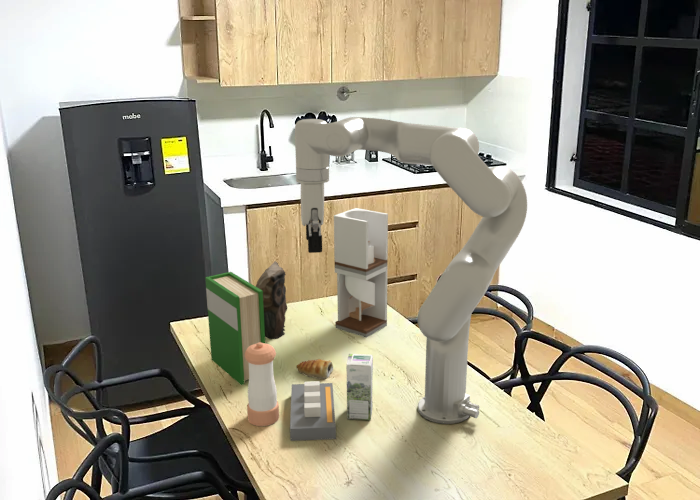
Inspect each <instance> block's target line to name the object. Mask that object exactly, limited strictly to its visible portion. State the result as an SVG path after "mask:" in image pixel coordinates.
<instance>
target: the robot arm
mask: <svg viewBox="0 0 700 500" xmlns="http://www.w3.org/2000/svg"><path fill="white" fill-rule="evenodd" d="M294 138H295V139H294V141H295V142H294V146H295V147H294V148H295V150H294V151H295V176H296V178H295V181H296V182H297V183H299V184H300V221H301V225H302V226H303V227H305V239H306V240H307V250H308V251H307V252H308V253H310V254H313V253H322V252H323V234H322V227H321V226H322V225H324V220H325V219H324V216H325V184H326V183H328V182H329V181H330V158H329V157H330V156H332V157H339V158H340V157H346V156H348V155H350V154H352V153H354V152H356V151H359V150H361V151H373V152H381V153H385V154H386V153H387V154H389V155H391V156H394V158H396V159H397V160H398V161H399V162H400V163H402V164H408V165H409V164H411V165H420V166H421V165H422V166H430V167H433V168H434V170H435V171H436V172H437V174H438V175H439V176H440V177H441V179H442V180H443V181H444V182H445V183H446V184H447V185H448V186H449V188H451V189H452V191H453V192H454V193H455V194H456V195H457V196H458V198H460V199H461V200H462V201H463V203H464V204H465V205H466V206H467V207H468V209H470V210H471V211H472V212H473V213H475V214H477V215H478V216H480V217H482V218H481V219H480V221H479V223H478V224H477V226H476V227H475V229H474V230H473V233H472V234H471V235H470V237H469V238H468V240H467V242H466V243H465V244H464V245H463V247H462V248H461V250H460V251H459V252H458V253H457V254H456V255H455V256H454V257H453V258H452V260H451V261H450V262H449V264H448V265H447V266H446V268H445V270H444V271H443V273H442V274H441V276H439V277H440V278H438V280H437V282H436V283H435V285H434V287H433V288H432V289H431V291H430V293H429V294H428V296H427V297H426V299H425V300H424V302H423V303H422V304H421V305H420V308H419V310H418V314H417V324H418V327H419V330H420V332H421V334H422V335H423V336H424V337H425V338H426V342H425V343H426V344H425V345H426V347H425V376H424V383H425V384H424V396H422V398H420V400H419V401H418V402H417V412H419V414H420V415H421V416H422V417H423V418H424V419H426V420H428V421H430V422H434V423H437V424H444V425H446V424H447V425H448V424H449V425H451V424H459V423H461V422H464V421H466V420H467V419H469V418H470V417H471V418H473V419H477V418H478V417H479V416H480V410H479V409H480V405H478V404H476V403H472V402H471V401H470V400H471V399H470V396H471V395H470V394H468V393H467V373H468V356H469V355H468V352H469V339H470V337H469V336H470V328H471V327H470V326H471V320H472V319H471V318H472V313H473V312H474V311H475V309H476V307H477V306H478V304H479V303H480V302H481V300H482V299H483V298H484V296H485V294H486V293H487V291H488V289H489V287H490V285H491V283H492V281H493V279H494V276H495V274H496V272H497V270H498V269H499V267H500V265H501V263H502V262H503V261H504V259H505V258H506V256H507V254H509V251H510V249H512V247H513V244H514V243H515V242H516V240H517V239H518V237H519V235H520V233H521V231H522V230H523V227H524V224H525V221H526V217H527V214H528V213H527V211H528V197H527V192H526V188H525V186H524V184H523V182H522V180H521V179H520V177H519V176H518V174H517V173H515V172H514V170H512V169H511V168H509V167H506V166H502V165H499V166H492V167H489V166H488V165H487V163H485V162H484V161H483V159H482V158H481V157H480V156H479V152H480V151H479V150H480V143H479V140H478V136H477V135H476V134H475V133H474V132H473V131H471V130H470V129H468V128H463V127H457V126H447V125H435V124H434V125H432V124H422V123H420V124H419V123H411V122H404V121H397V120H391V119H385V118H376V117H375V118H374V117H366V116H365V117H364V116H363V117H362V116H350V117H346V118H344V119H341V120H337V121H334V122H327V121H326V120H323V119H320V118H319V119H318V118H306V119H305V118H304V119H300V120H298V121H296V123H295V126H294Z"/></svg>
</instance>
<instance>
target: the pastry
mask: <svg viewBox="0 0 700 500" xmlns="http://www.w3.org/2000/svg"><path fill="white" fill-rule="evenodd" d="M296 369H297V371H298V373H299V374H301V375H304V376H306V377H308V378H313V379H314V378H315V379H320V380H326V379H328V378H329V377H330V376H331V373H332V372H333V371H334V364H333V362H332V360H325V359H320V358H317V359H311V360H310V359H308V360H304V361H301V362H299V363H298V364H297V365H296Z"/></svg>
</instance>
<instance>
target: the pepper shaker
mask: <svg viewBox="0 0 700 500" xmlns="http://www.w3.org/2000/svg"><path fill="white" fill-rule="evenodd" d="M276 355H277V351H276V349H275V348H274V346H272V345H271V344H269V343H266V342H265V343H261V342H259V343H257V344H253V345H251V346H249V347H248V348H247V350H246V351H245V358H246V360H247V361H248V362H249V379H248V385H247V398H248V399H247V401H248V403H247V405H246V407H247V408H246V410H247V421H248V423H249V424H251V425H253V426H257V427H267V426H271V425H274V424H275V423H277V422H278V421H279V418H280V408H279V407H280V405H279V401H278V392H277V391H278V390H277V386H276V381H275V376H274V360H275V358H276Z"/></svg>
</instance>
